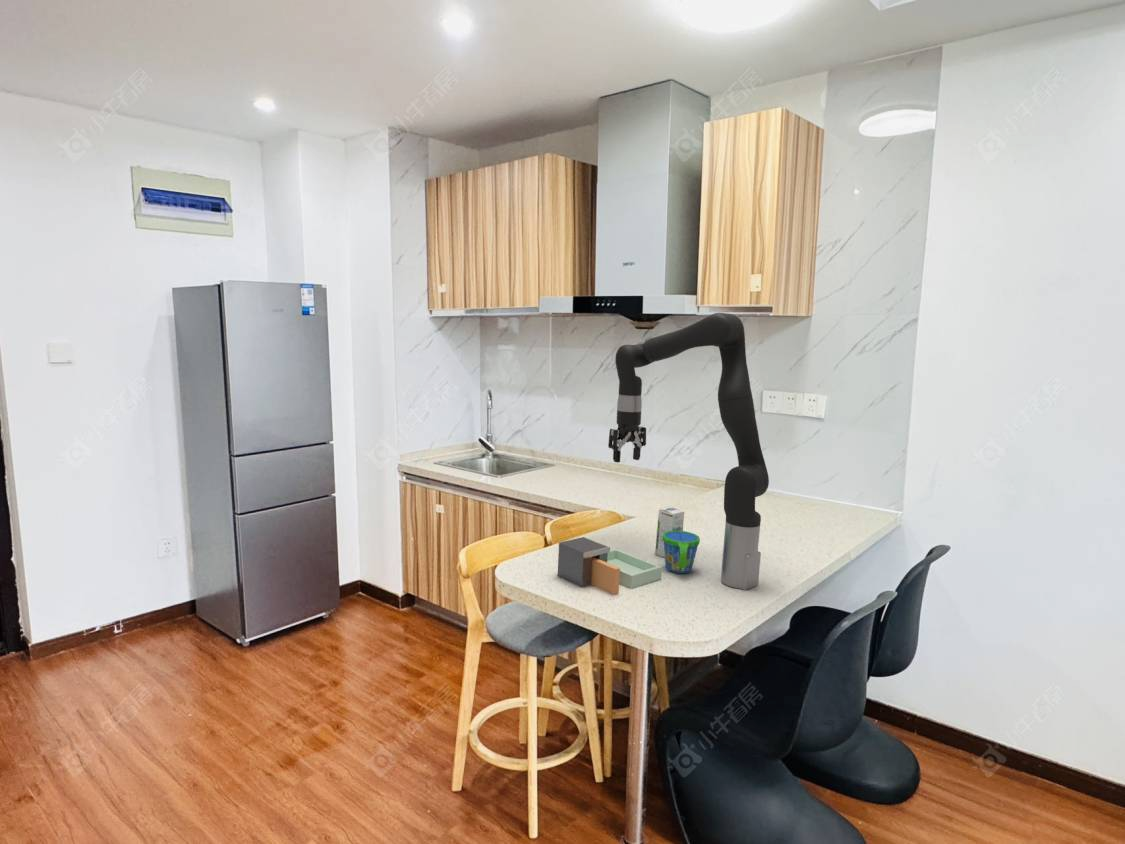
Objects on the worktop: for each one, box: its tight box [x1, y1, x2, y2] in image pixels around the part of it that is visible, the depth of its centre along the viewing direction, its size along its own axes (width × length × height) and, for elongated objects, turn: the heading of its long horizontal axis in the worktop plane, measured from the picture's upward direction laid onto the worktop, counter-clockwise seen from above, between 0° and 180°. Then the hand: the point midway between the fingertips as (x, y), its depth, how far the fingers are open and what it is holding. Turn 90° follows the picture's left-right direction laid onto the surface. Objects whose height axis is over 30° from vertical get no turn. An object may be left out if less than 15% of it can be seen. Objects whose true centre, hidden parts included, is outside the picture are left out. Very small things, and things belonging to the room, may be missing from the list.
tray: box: [607, 548, 663, 589], centre depth 188 cm, size 18×12×4 cm, turn 40°
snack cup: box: [663, 530, 701, 574], centre depth 193 cm, size 16×10×10 cm
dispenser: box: [557, 536, 611, 588], centre depth 183 cm, size 11×9×10 cm
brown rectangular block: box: [590, 557, 620, 596], centre depth 177 cm, size 10×2×7 cm, turn 41°
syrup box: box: [654, 506, 685, 558], centre depth 204 cm, size 6×6×14 cm
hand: (626, 460), depth 209 cm, fingers open, 8 cm apart
